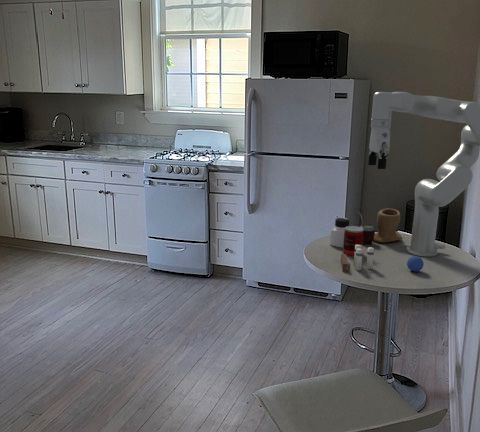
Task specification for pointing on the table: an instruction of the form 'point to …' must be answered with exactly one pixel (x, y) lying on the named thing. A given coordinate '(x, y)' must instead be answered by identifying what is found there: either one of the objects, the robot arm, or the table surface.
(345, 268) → the stopper wall
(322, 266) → the table surface
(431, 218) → the robot arm
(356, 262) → the back pin left
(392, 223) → the stone cup
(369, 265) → the front pin
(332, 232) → the medicine bottle
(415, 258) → the ball
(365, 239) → the mate gourd
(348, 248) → the canned food
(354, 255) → the back pin right
